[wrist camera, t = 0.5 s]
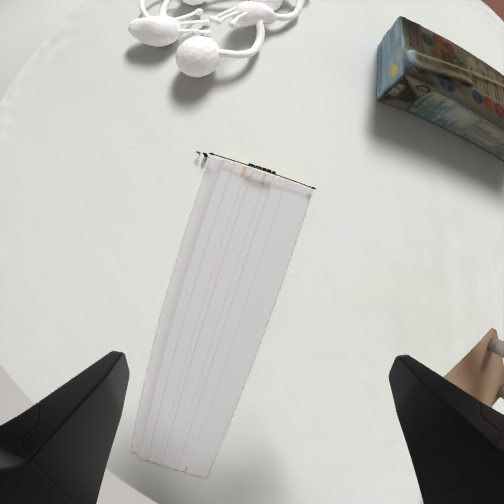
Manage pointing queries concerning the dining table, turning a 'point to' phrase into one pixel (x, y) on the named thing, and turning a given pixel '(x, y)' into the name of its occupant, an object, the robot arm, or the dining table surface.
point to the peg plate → (482, 370)
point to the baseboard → (216, 312)
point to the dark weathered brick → (441, 84)
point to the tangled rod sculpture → (206, 32)
